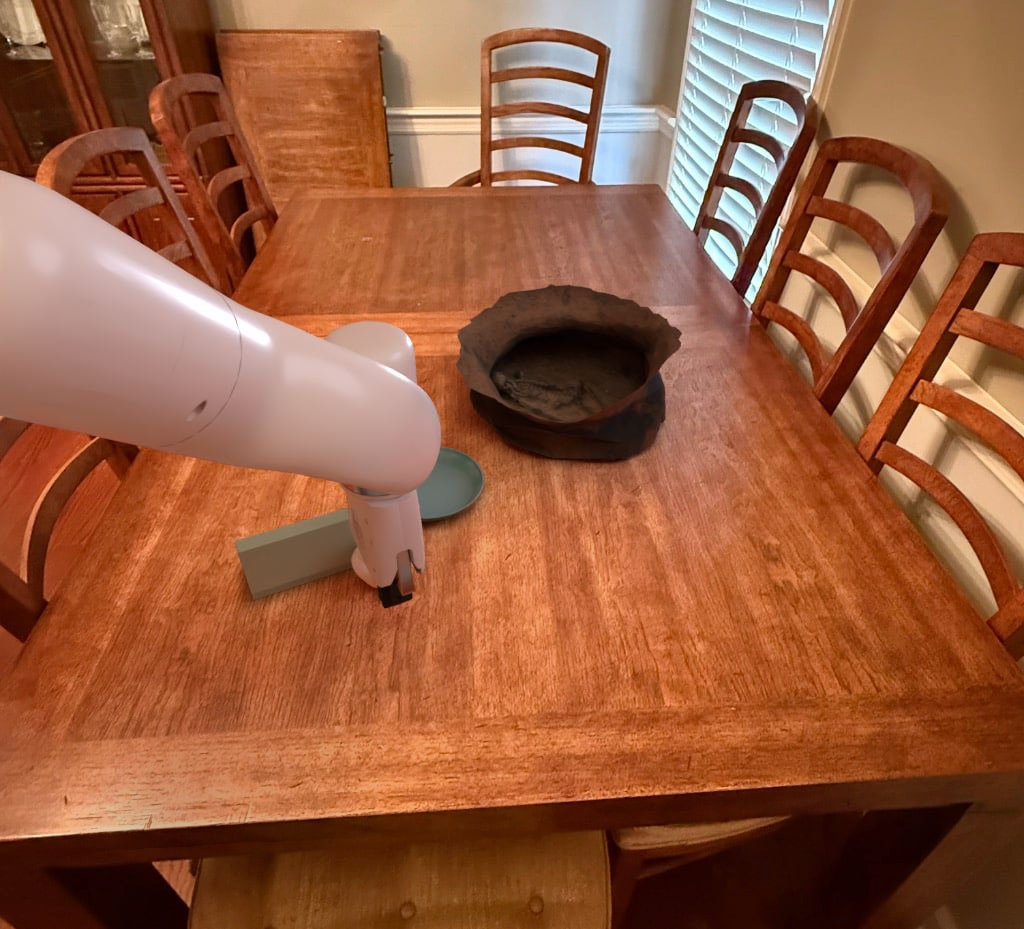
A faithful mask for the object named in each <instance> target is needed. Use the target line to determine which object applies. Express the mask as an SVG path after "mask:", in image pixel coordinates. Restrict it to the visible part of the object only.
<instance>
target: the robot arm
mask: <svg viewBox="0 0 1024 929" xmlns="http://www.w3.org/2000/svg"><path fill="white" fill-rule="evenodd" d="M415 353H416V352H415V348H414V345H413V342H412V340H411V338H410V336H409V335H408V334H407V333H406V332H405V331H404V330H403V329H402V328H399V327H398V326H396V325H393V324H391V323H387V322H383V321H377V320H376V321H375V320H362V321H354V322H350V323H346V324H343V325H340V326H338V327H336V328H334V329H333V330H332V331H330V332H329V333H327V334H326V336H324V338H321V337H319V336H316V335H314V334H312V333H309V332H308V331H305V330H303V329H301V328H299V327H296V326H294V325H292V324H289V323H287V322H285V321H283V320H280V319H278V318H274V317H272V316H270V315H267V314H265V313H261V312H259V311H256V310H254V309H251V308H248V307H247V306H245V305H242V304H240V303H238V302H237V301H235V300H233V299H231V298H230V297H228V296H226V294H223V293H222V292H220V291H219V290H216V289H215V288H214V287H212V286H210V285H209V284H207V283H205V282H204V281H202V280H200V279H199V278H197V277H196V276H194V275H193V274H191V273H189V272H188V271H186V270H184V269H183V268H181V267H180V266H178V265H177V264H175V263H173V262H172V261H170V260H169V259H167V258H166V257H164V256H162V255H161V254H159V253H158V252H156V251H154V250H153V249H151V248H150V247H148V246H147V245H145V244H143V243H141V242H140V241H138V240H137V239H135V238H134V237H132V236H130V235H128V234H127V233H125V232H124V231H122V230H120V229H119V228H118V227H115V225H112V224H111V223H109V222H107V221H106V220H104V219H102V218H101V217H100V216H98V215H97V214H95V213H93V212H92V211H90V210H88V209H86V208H85V207H83V206H81V205H80V204H78V203H76V202H75V201H73V200H72V199H70V198H68V197H66V196H64V195H63V194H61V193H59V192H57V191H56V190H53V189H52V188H49V187H47V186H45V185H43V184H41V183H38V182H36V181H33V180H31V179H29V178H26V177H22V176H20V175H17V174H14V173H11V172H8V171H5V170H1V169H0V417H3V418H9V419H12V420H16V421H17V420H18V421H22V422H27V423H31V424H36V425H40V426H45V427H50V428H55V429H59V430H63V431H68V432H72V433H73V432H74V433H79V434H82V435H87V436H92V437H97V438H101V439H106V440H109V441H115V442H119V443H124V444H129V445H133V446H137V447H142V448H145V449H151V450H155V451H159V452H163V453H168V454H173V455H177V456H181V457H182V456H183V457H187V458H192V459H197V460H203V461H207V462H211V463H215V464H219V465H225V466H231V467H238V468H245V469H251V470H261V471H270V472H279V473H287V474H295V475H299V476H305V477H309V478H313V479H318V480H325V481H328V482H329V481H330V482H334V483H337V484H339V486H340V488H341V489H342V490H343V491H344V492H345V496H346V506H347V507H348V516H349V524H350V529H351V532H352V535H353V538H354V540H355V542H356V545H357V547H358V549H359V551H360V554H361V556H362V558H363V560H364V563H365V565H366V567H367V569H368V571H369V574H370V576H371V578H372V580H373V581H374V583H375V584H376V585H377V588H376V589H377V595H378V599H379V601H380V602H381V605H382V608H383V609H384V610H385V609H390V608H392V607H395V606H398V605H402V604H404V603H407V602H410V601H411V600H412V599H414V598H413V597H414V596H413V593H416V587H415V582H414V577H413V571H412V566H413V568H414V570H415V572H416V574H419V575H420V576H421V575H422V574H423V573H424V571H425V568H426V551H425V550H426V549H425V540H424V533H423V532H424V531H423V524H422V521H421V516H420V510H419V508H420V506H419V503H418V497H417V492H416V489H417V488H418V487H419V486H420V485H421V484H422V483H424V481H425V480H426V479H427V478H428V476H429V475H430V473H431V472H432V470H433V468H434V466H435V464H436V461H437V458H438V455H439V451H440V446H442V427H441V421H440V416H439V413H438V410H437V408H436V405H435V404H434V402H433V400H432V399H431V397H430V396H429V395H428V393H427V392H426V391H425V390H424V389H423V388H422V387H420V386H419V385H418V378H417V364H416V354H415ZM347 507H346V508H347Z"/></svg>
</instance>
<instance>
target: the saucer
mask: <svg viewBox="0 0 1024 929" xmlns="http://www.w3.org/2000/svg"><path fill="white" fill-rule="evenodd" d="M484 485H485V476H484V471H483V469H482V468H481V466H480V464H479V463H478V462H477V461H476V460H475V459H474V458H473V457H472V456H470V455H469V454H467V453H465V452H464V451H461V450H458V449H455V448H452V447H447V446H442V445H440V451H439V455H438V458H437V461H436V464H435V466H434V468H433V470H432V472H431V473H430V475H429V476H428V478H427V479H426V480H425V481H424V483H422V484H421V485H420V486H419V487H418V488H417V489H416V492H417V497H418V503H419V506H420V508H419V510H420V516H421V522H436V521H442V520H445V519H448V518H452V517H454V516H456V515H458V514H460V513H461V512H463V511H465V510H466V509H468V508H469V507H470V506H471V505H472V504H473V503H474V502H475V501H476V500H477V499H478V497H479V496H480V495H481V493H482V492H483V490H484Z"/></svg>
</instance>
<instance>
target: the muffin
mask: <svg viewBox="0 0 1024 929" xmlns="http://www.w3.org/2000/svg"><path fill="white" fill-rule="evenodd" d="M351 562H352V567H353V568H352V569H353V571H354V573H355V574H356V575H357V576H358V578H360V579H361V580H363V582H365V583H366V584H367V585H369V586H370V587H372V588H374V589H377V585H376V584H375V583H374V581H373V580H372V578H371V576H370V574H369V571H368V569H367V567H366V565H365V563H364V560H363V558H362V556H361V554H360V551H359V549H358V547H357V548H356V549H355V550H354V552H353V555H352V558H351Z"/></svg>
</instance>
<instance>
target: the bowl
mask: <svg viewBox="0 0 1024 929" xmlns="http://www.w3.org/2000/svg"><path fill="white" fill-rule="evenodd" d="M469 321H470V323H468V324H466V325H465V326H464V327H462V328H460V329H458V330H457V334H456V335H457V339H458V342H459V344H460V347H459V358H458V360H457V362H456V363H455V366H456V368H457V370H458V372H459V373H460V374H461V376H463V378H464V382H465V385H466V387H468V388H469V389H470V390H469V398H470V402H471V406H472V407H473V409H474V411H475V412H476V413H477V415H478V416H479V417H480V418H481V419H484V420H485V421H487V422H488V423H489V424H490V425H491V427H492V428H493V429H494V430H495V431H496V432H497V433H498V434H499V436H500V437H501V438H503V439H504V440H505V441H507V442H508V443H510V444H512V445H513V446H516V447H519V448H522V449H524V450H527V451H530V452H533V453H536V454H539V455H542V456H545V457H548V458H553V459H554V458H555V459H570V460H610V461H614V460H621V459H622V458H625V459H628V458H630V457H632V456H634V455H635V454H639V453H641V452H644V451H645V450H647V449H648V448H650V447H651V446H652V445H653V444H654V443H655V441H656V439H657V437H658V433H659V431H660V427H661V424H663V423H664V422H665V421H666V420H667V416H666V413H667V412H666V411H667V407H666V406H667V405H666V395H667V394H666V393H667V392H666V386H665V382H664V381H663V378H662V374H661V373H660V370H661V368H662V367H663V366H664V364H665V363H666V362H667V361H668V359H670V358H671V357H672V356H673V355H674V354H676V352H678V351H679V350H680V348H682V341H681V340H680V338H681V336H682V335H683V332H682V331H681V330H680V329H679V328H677V327H676V326H672V325H671V324H670V323H669V321H668V318H666V317H664V316H662V315H661V313H657V312H656V313H655V312H654V311H652V309H650V307H649V306H641V305H640V304H639V303H638V302H635V300H633V299H627V298H621V297H619V296H617V295H615V294H612V293H607V292H601V291H597V290H593V289H592V288H591V287H587V286H578V285H571V284H563V285H555V284H552V283H551V284H548V285H547V286H545V287H541V288H535V289H527V290H520V291H519V290H518V291H511V292H507V293H506V294H505V295H503V296H502V295H500V297H499V298H498V299H497V300H496V301H495V303H494V304H493V305H492V306H491V307H487V308H484V309H483V310H482V311H479V313H478V314H477V315H475V316H473V317H471V318H470V319H469Z"/></svg>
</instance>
